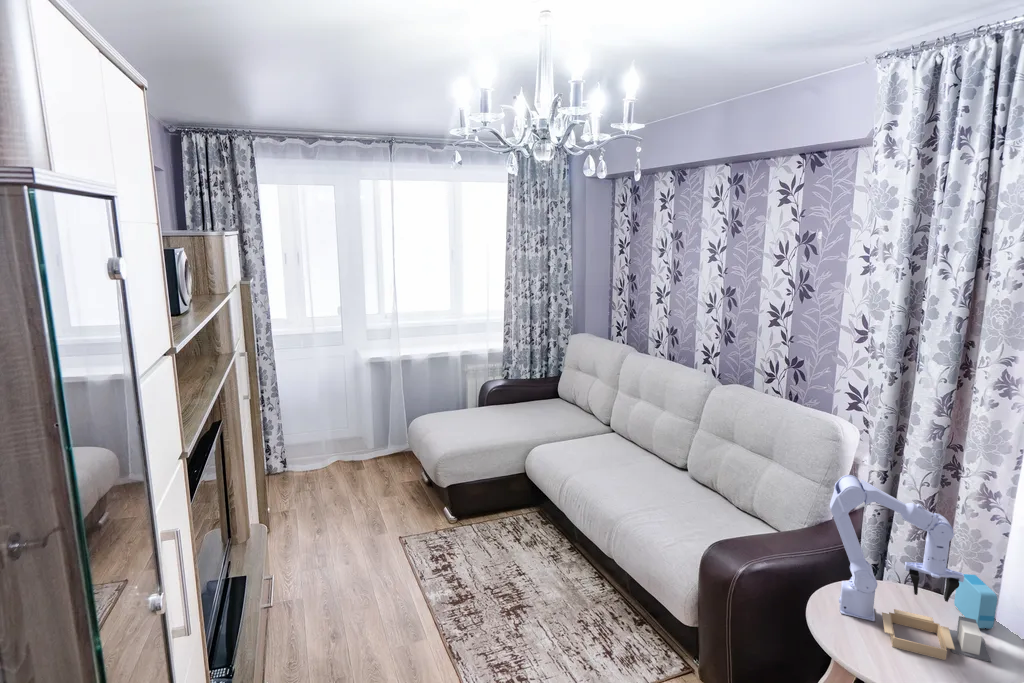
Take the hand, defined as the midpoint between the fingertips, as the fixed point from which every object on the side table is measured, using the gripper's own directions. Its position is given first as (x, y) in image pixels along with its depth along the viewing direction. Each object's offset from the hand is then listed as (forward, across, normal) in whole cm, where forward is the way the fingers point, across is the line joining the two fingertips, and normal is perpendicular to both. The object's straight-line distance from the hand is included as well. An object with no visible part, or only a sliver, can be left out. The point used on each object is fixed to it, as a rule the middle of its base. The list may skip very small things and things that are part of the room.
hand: (930, 596), depth 183 cm
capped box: (+9, +9, -6) cm, 14 cm away
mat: (+9, +9, -6) cm, 14 cm away
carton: (+9, -4, -9) cm, 14 cm away
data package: (+10, +13, +9) cm, 19 cm away
